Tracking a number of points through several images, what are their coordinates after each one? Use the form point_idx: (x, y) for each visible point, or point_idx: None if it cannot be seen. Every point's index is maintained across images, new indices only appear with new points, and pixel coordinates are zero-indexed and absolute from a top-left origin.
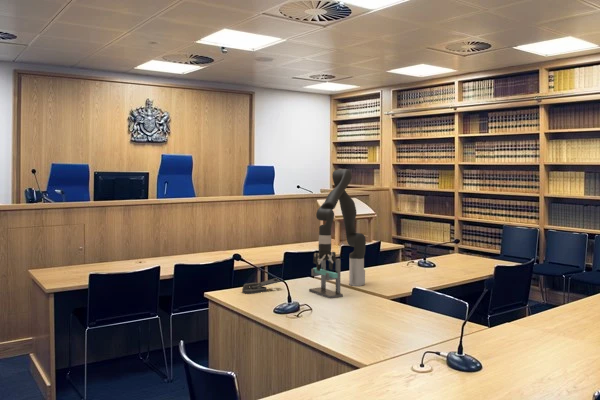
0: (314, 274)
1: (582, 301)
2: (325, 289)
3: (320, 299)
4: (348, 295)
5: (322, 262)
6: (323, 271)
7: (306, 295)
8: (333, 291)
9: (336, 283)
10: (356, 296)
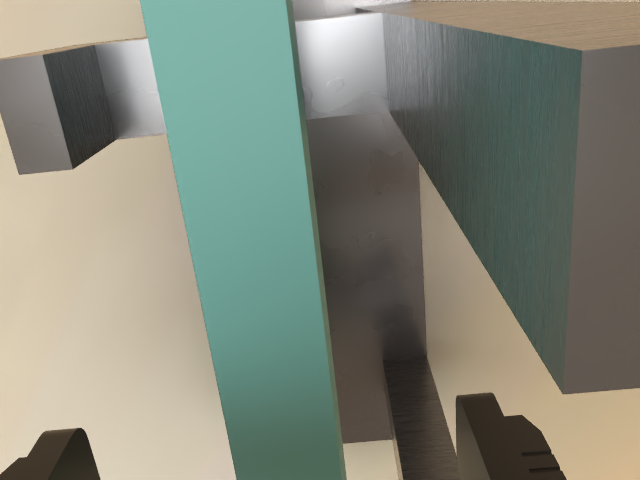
0: (118, 135)
1: None
2: (373, 121)
3: (133, 418)
4: (518, 393)
5: (438, 148)
6: (231, 439)
7: (36, 185)
8: (407, 280)
9: (399, 469)
10: (563, 459)
